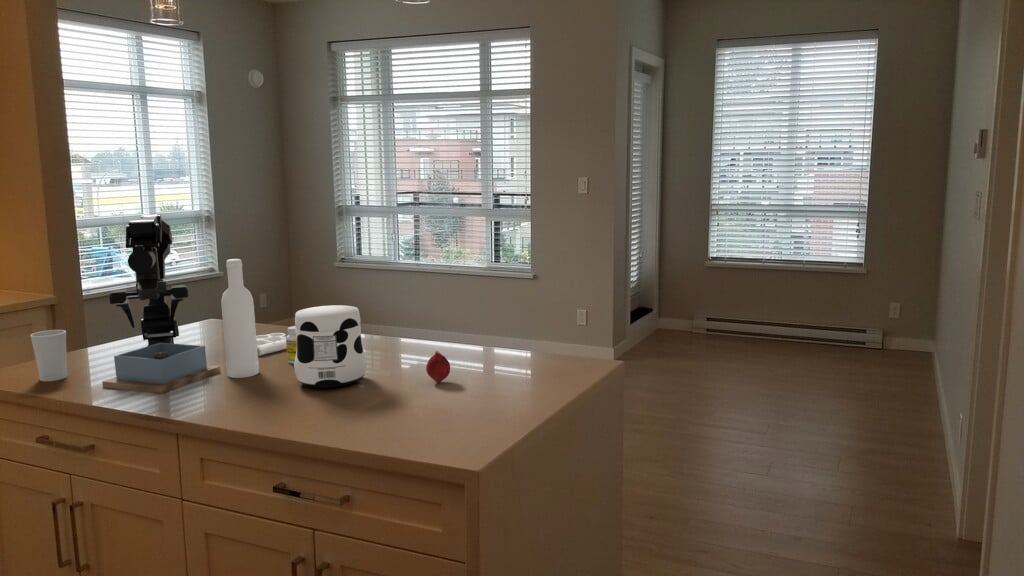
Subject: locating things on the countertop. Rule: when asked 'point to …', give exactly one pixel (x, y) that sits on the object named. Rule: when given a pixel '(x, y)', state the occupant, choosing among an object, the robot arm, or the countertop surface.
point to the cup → (50, 354)
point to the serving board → (160, 387)
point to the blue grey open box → (160, 363)
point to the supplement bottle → (291, 344)
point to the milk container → (329, 346)
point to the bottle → (239, 325)
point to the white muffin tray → (270, 343)
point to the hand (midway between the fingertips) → (152, 326)
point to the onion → (438, 367)
